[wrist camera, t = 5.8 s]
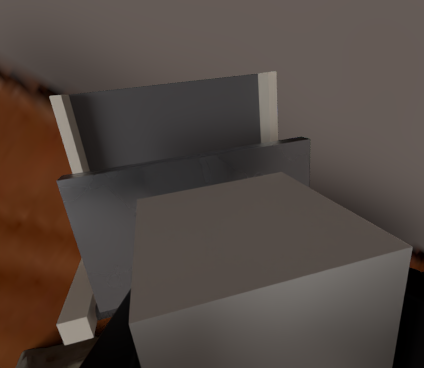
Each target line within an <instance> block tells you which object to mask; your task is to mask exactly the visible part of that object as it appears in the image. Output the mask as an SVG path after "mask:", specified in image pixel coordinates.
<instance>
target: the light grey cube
mask: <svg viewBox="0 0 424 368" xmlns="http://www.w3.org/2000/svg"><path fill="white" fill-rule="evenodd" d="M411 253H412V246H410V245H409V244H407V243H405V242H403V241H402V240H400V239H398V238H396V237H395V236H393V235H391V234H389V233H387V232H386V231H384V230H382V229H380V228H379V227H377V226H375V225H374V224H372V223H370V222H368V221H367V220H365V219H363V218H361V217H360V216H358V215H356V214H354V213H353V212H351V211H349V210H347V209H345V208H344V207H342V206H340V205H339V204H337V203H335V202H333V201H332V200H330V199H328V198H326V197H325V196H323V195H321V194H319V193H318V192H316V191H314V190H313V189H311V188H309V187H307V186H306V185H304V184H302V183H300V182H299V181H297V180H295V179H293V178H292V177H290V176H288V175H286V174H285V173H283V172H278V173H273V174H268V175H263V176H257V177H252V178H247V179H242V180H236V181H231V182H226V183H221V184H215V185H210V186H205V187H200V188H195V189H189V190H184V191H179V192H174V193H168V194H163V195H158V196H153V197H148V198H142V199H137V210H136V225H135V239H134V253H133V268H132V282H131V297H130V311H129V327H130V331H131V334H132V337H133V341H134V344H135V348H136V351H137V354H138V358H139V361H140V365H141V368H392V365H393V360H394V354H395V348H396V342H397V336H398V330H399V324H400V318H401V312H402V306H403V300H404V294H405V288H406V282H407V277H408V271H409V265H410V259H411Z"/></svg>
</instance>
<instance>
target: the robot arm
mask: <svg viewBox="0 0 424 368" xmlns="http://www.w3.org/2000/svg"><path fill="white" fill-rule="evenodd" d="M130 297H131V289H130V290H129V292H128V293H127V295H126V296H125V298H124V299H123V301H122V302H121V304H120V305H119V307H118V308H117V310H116V311H115V313H114V315H113V316H112V318H111V319H110V321H109V322H108V324H107V325H106V327H105V328H104V330H103V331H102V333H101V334H100V336H99V337H98V339H97V341H96V342H95V344H94V345H93V347H92V348H91V350H90V351H89V353H88V354H87V356H86V357H85V359H84V360H83V362H82V363H81V365H80V367H79V368H141V365H140V361H139V358H138V354H137V351H136V348H135V344H134V341H133V337H132V334H131V331H130V327H129V311H130ZM392 368H424V272H420V271H419V270H416V269H413V268H410V267H409V271H408V277H407V282H406V288H405V294H404V300H403V306H402V312H401V318H400V324H399V330H398V336H397V342H396V348H395V354H394V360H393V365H392Z"/></svg>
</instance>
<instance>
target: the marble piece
mask: <svg viewBox="0 0 424 368" xmlns="http://www.w3.org/2000/svg"><path fill="white" fill-rule="evenodd" d="M97 339H98V337H97V336H94V338H90V339H87V340H83V341H79V342H76V343H72V344H68V345H64V344H60V345H57V346H52V347H48V348H38V349H30V350H25V351H23V353H22V354H21V356H20V358H19V360H18V363H17V366H16V368H79V367H80V365H81V363H82V362H83V360H84V359H85V357H86V356H87V354H88V353H89V351H90V350H91V348H92V347H93V345H94V344H95V342H96V341H97Z"/></svg>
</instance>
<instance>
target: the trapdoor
mask: <svg viewBox="0 0 424 368" xmlns="http://www.w3.org/2000/svg"><path fill="white" fill-rule="evenodd" d="M278 172H283V173H285V174H286V175H288V176H290V177H292V178H293V179H295V180H297V181H299V182H300V183H302V184H304V185H306V186H307V187H309V183H310V139H308V138H304V137H297V138H291V139H285V140H278V141H272V142H266V143H260V144H254V145H248V146H241V147H235V148H229V149H223V150H217V151H211V152H204V153H198V154H192V155H186V156H180V157H174V158H167V159H161V160H155V161H149V162H143V163H137V164H130V165H124V166H118V167H112V168H106V169H100V170H93V171H87V172H81V173H75V174H69V175H63V176H61V177H60V178H59V179H58V180H57V184H58V187H59V190H60V193H61V196H62V199H63V202H64V205H65V208H66V211H67V214H68V218H69V221H70V224H71V227H72V230H73V233H74V236H75V239H76V242H77V245H78V248H79V251H80V254H81V257H82V260H83V263H84V266H85V269H86V272H87V276H88V279H89V282H90V285H91V288H92V291H93V294H94V297H95V300H96V306H95V313H96V317H97V320H101V319H105V318H109V317H112V316H113V315H114V313H115V311H116V310H117V308H118V307H119V305H120V304H121V302H122V301H123V299H124V298H125V296H126V295H127V293H128V292H129V290H130V289H131V282H132V268H133V253H134V239H135V225H136V210H137V199H142V198H148V197H153V196H158V195H163V194H168V193H174V192H179V191H184V190H189V189H195V188H200V187H205V186H210V185H215V184H221V183H226V182H231V181H236V180H242V179H247V178H252V177H257V176H263V175H268V174H273V173H278Z"/></svg>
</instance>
